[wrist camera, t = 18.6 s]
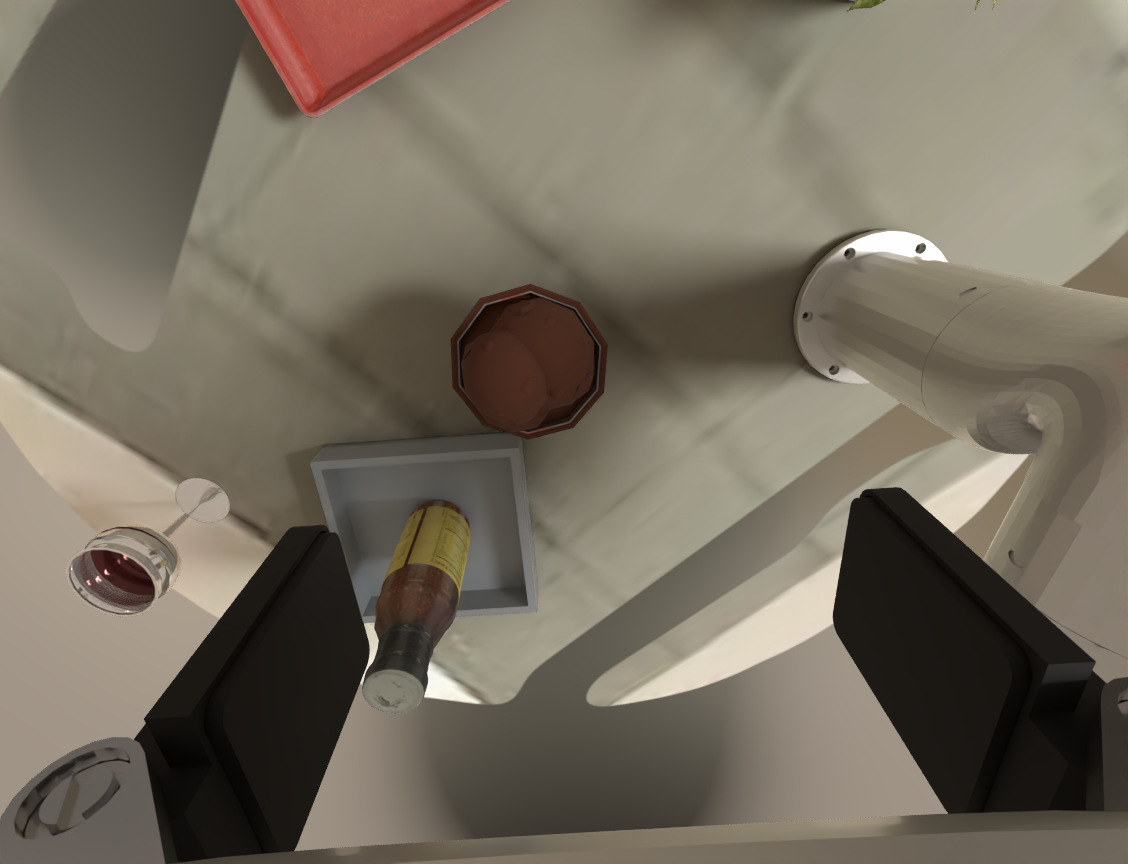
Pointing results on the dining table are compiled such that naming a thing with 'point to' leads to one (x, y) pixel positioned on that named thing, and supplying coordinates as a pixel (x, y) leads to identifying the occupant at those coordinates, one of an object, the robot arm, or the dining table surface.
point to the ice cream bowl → (528, 362)
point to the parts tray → (433, 473)
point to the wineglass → (140, 556)
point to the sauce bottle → (417, 604)
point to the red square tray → (351, 40)
